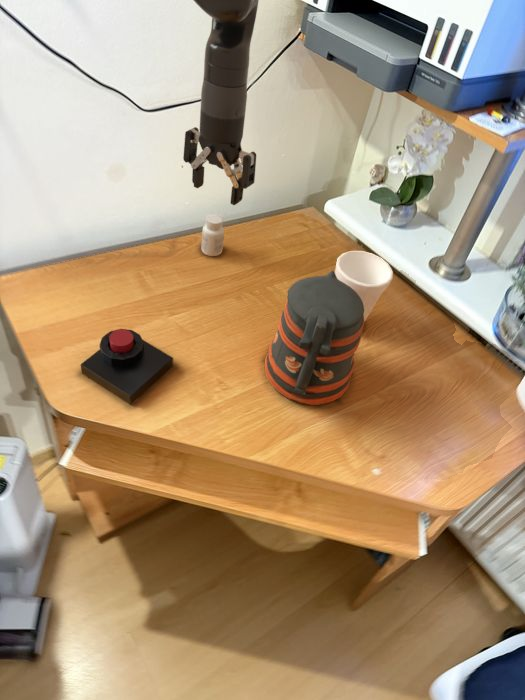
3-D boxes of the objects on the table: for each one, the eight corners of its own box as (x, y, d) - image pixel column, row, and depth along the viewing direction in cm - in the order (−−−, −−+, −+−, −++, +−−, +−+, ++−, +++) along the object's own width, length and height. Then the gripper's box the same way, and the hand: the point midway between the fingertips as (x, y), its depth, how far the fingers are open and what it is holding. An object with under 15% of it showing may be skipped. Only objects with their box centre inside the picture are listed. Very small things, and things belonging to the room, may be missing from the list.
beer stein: (344, 438, 79) (384, 350, 65) (251, 417, 80) (270, 324, 65) (351, 352, 92) (386, 262, 78) (271, 334, 93) (291, 241, 78)
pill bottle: (223, 246, 109) (227, 214, 103) (220, 258, 106) (223, 226, 100) (203, 242, 109) (205, 210, 103) (199, 254, 106) (201, 222, 100)
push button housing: (80, 372, 81) (77, 355, 78) (125, 337, 87) (123, 320, 84) (130, 405, 78) (129, 388, 75) (173, 366, 84) (173, 350, 81)
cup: (368, 308, 102) (389, 253, 92) (374, 344, 95) (397, 289, 85) (318, 301, 101) (334, 246, 91) (321, 338, 94) (338, 282, 84)
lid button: (105, 346, 80) (104, 338, 79) (121, 333, 83) (120, 326, 82) (122, 357, 79) (122, 349, 78) (138, 344, 82) (138, 336, 81)
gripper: (270, 115, 87) (258, 201, 98) (202, 88, 91) (198, 174, 102) (246, 128, 82) (236, 217, 94) (175, 99, 86) (174, 187, 98)
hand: (216, 194), depth 98 cm, fingers open, 8 cm apart
